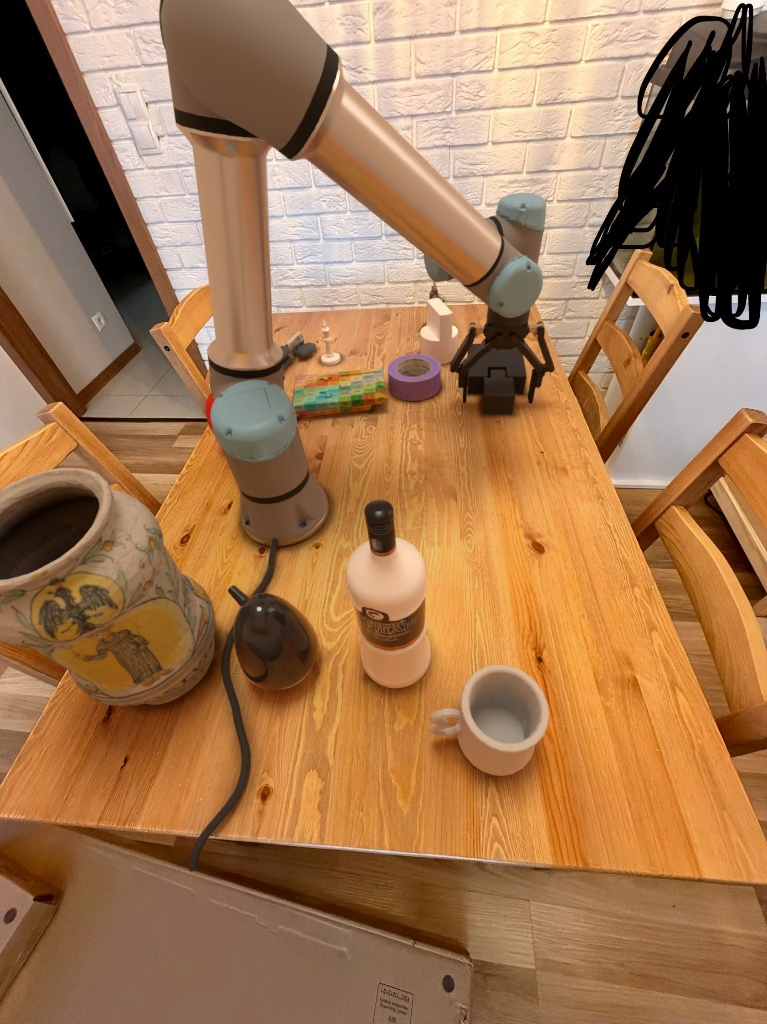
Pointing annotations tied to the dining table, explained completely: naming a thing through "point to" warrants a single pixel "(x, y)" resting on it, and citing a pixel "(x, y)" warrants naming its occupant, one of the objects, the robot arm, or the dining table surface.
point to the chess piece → (328, 348)
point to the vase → (99, 590)
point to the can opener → (296, 349)
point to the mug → (497, 719)
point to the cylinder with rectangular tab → (439, 333)
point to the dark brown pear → (272, 640)
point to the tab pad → (498, 393)
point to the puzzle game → (338, 392)
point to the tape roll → (414, 377)
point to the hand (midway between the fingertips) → (496, 399)
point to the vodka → (389, 601)
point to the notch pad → (497, 368)
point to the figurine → (435, 294)
